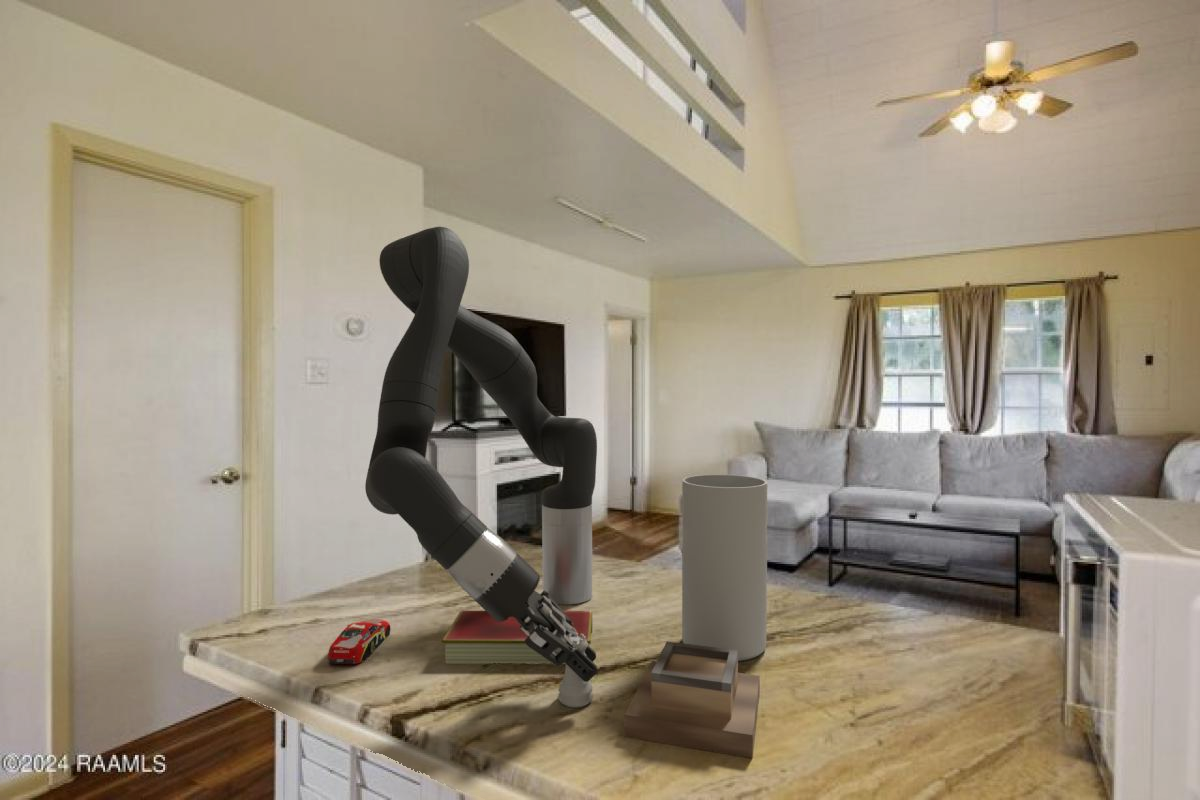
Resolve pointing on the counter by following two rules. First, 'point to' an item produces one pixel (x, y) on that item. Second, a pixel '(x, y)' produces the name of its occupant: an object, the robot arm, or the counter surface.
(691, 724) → the walnut plinth
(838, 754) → the counter surface
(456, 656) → the hardcover book
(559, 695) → the rook chess piece
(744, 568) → the cylinder vase
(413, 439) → the robot arm
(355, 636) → the race car
